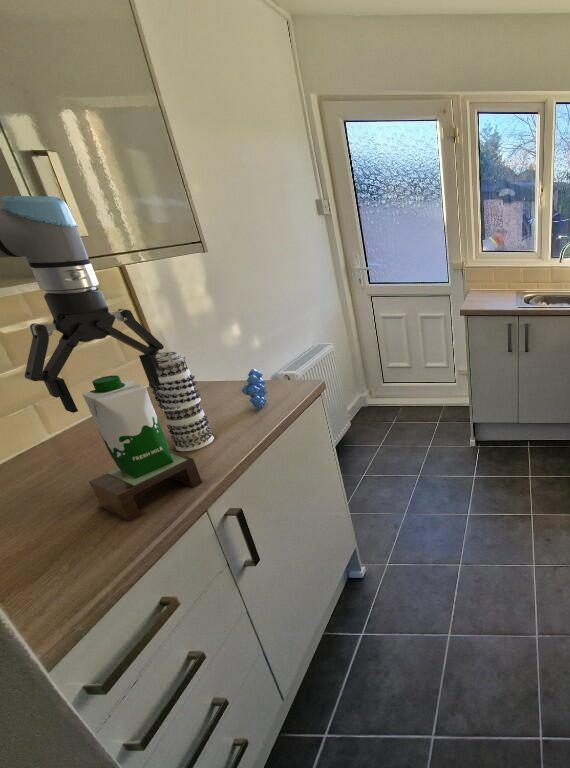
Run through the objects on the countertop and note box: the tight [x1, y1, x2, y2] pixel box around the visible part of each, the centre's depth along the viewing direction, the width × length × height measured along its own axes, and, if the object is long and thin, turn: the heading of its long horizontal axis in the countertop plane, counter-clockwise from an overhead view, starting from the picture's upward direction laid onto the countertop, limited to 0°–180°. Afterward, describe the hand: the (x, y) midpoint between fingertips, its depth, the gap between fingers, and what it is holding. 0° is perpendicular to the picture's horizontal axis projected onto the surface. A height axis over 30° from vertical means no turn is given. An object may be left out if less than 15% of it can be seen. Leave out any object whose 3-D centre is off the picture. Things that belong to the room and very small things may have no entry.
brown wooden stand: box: [88, 449, 203, 522], centre depth 90 cm, size 11×14×7 cm
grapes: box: [241, 368, 268, 410], centre depth 129 cm, size 12×7×12 cm, turn 19°
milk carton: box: [82, 375, 174, 479], centre depth 86 cm, size 9×9×20 cm
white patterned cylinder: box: [148, 351, 215, 452], centre depth 106 cm, size 9×9×25 cm
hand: (116, 397), depth 83 cm, fingers open, 13 cm apart
